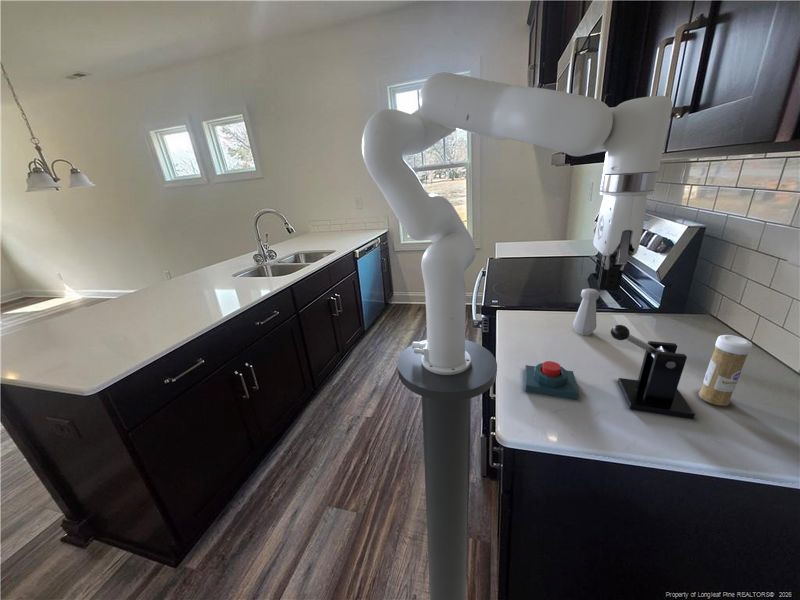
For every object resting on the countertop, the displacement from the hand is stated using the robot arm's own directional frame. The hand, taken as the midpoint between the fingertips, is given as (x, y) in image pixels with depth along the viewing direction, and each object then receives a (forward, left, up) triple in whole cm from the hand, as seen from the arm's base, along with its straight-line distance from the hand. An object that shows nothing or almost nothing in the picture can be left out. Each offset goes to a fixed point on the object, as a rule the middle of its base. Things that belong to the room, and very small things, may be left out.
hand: (607, 288), depth 59 cm
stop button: (-8, 0, -20) cm, 21 cm away
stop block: (-8, 0, -23) cm, 24 cm away
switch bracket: (+11, 0, -23) cm, 26 cm away
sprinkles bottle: (+22, +3, -23) cm, 32 cm away
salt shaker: (+3, +28, -23) cm, 37 cm away
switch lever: (+7, 0, -12) cm, 14 cm away
